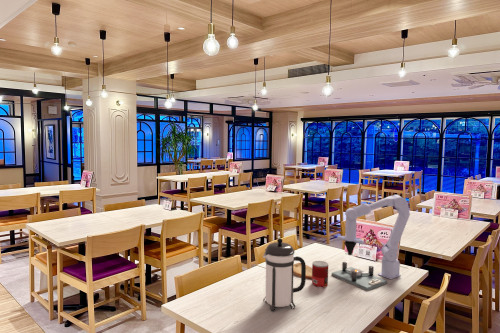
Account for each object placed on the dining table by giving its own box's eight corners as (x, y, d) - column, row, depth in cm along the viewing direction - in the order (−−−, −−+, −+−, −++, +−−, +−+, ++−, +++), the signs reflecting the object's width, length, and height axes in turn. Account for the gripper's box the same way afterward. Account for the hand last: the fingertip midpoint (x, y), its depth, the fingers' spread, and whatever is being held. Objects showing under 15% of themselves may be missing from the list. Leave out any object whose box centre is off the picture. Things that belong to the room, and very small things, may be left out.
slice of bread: (321, 281, 181) (321, 274, 180) (286, 278, 183) (287, 271, 183) (319, 268, 198) (319, 262, 198) (288, 266, 201) (288, 260, 201)
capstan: (342, 269, 191) (342, 261, 191) (373, 274, 184) (373, 266, 184) (337, 278, 178) (337, 270, 178) (370, 284, 171) (370, 275, 171)
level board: (351, 269, 196) (351, 263, 196) (387, 283, 177) (387, 276, 177) (331, 275, 187) (331, 268, 187) (367, 290, 168) (367, 283, 168)
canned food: (328, 288, 171) (328, 266, 170) (311, 286, 172) (312, 265, 172) (327, 282, 178) (328, 261, 177) (312, 280, 180) (312, 260, 179)
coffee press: (289, 317, 142) (290, 245, 140) (255, 307, 150) (256, 239, 148) (305, 301, 157) (307, 236, 155) (274, 292, 165) (275, 231, 163)
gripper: (335, 229, 191) (334, 253, 192) (360, 234, 181) (359, 259, 182) (341, 227, 196) (340, 250, 197) (365, 231, 187) (365, 256, 188)
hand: (350, 254), depth 190 cm, fingers closed
